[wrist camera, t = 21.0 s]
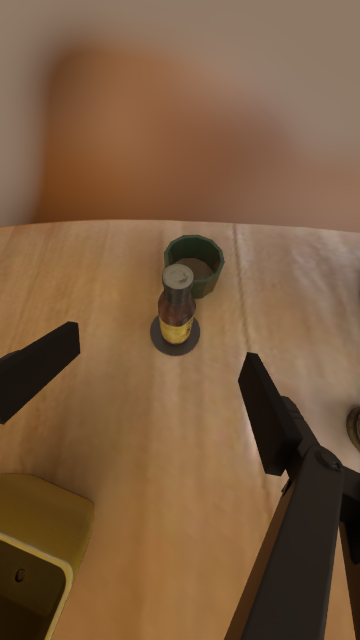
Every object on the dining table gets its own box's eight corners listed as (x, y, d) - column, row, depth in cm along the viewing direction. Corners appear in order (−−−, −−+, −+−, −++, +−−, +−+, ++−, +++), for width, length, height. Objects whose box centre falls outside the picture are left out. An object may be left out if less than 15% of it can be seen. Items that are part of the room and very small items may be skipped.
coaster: (180, 301, 45) (180, 300, 45) (209, 337, 42) (210, 336, 41) (141, 325, 42) (140, 325, 42) (168, 366, 39) (168, 366, 39)
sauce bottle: (190, 345, 40) (206, 301, 22) (161, 346, 40) (153, 302, 22) (188, 317, 43) (201, 257, 25) (161, 318, 43) (153, 257, 24)
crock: (195, 248, 52) (199, 227, 45) (227, 282, 48) (235, 263, 41) (155, 270, 48) (152, 250, 42) (185, 308, 44) (188, 293, 38)
